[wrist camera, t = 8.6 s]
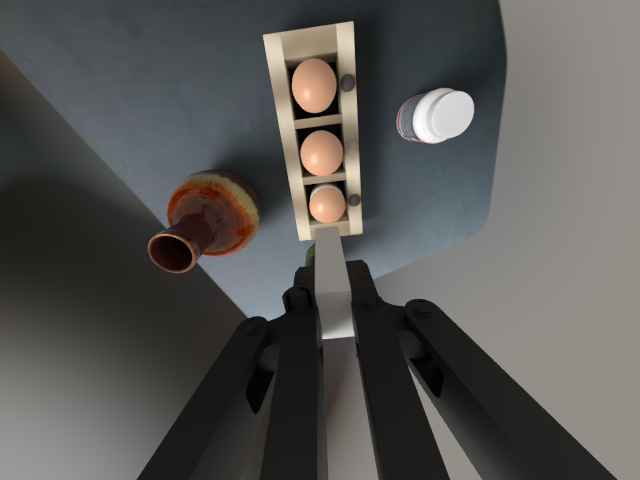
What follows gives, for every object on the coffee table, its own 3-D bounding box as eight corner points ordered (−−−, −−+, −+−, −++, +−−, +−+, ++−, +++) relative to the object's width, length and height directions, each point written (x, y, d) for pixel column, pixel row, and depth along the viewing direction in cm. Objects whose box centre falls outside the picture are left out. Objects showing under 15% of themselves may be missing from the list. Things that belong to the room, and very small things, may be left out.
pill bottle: (397, 145, 31) (425, 151, 23) (393, 101, 29) (422, 91, 21) (437, 134, 31) (479, 137, 23) (436, 90, 28) (483, 75, 20)
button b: (300, 133, 28) (297, 134, 24) (337, 128, 28) (341, 128, 24) (305, 171, 30) (304, 178, 26) (340, 167, 30) (344, 173, 26)
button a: (292, 71, 27) (288, 61, 23) (331, 66, 27) (334, 55, 23) (298, 116, 29) (295, 114, 25) (335, 111, 29) (338, 108, 25)
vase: (281, 200, 34) (258, 250, 21) (240, 249, 38) (196, 319, 24) (217, 147, 31) (136, 163, 17) (178, 206, 35) (85, 258, 21)
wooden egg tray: (270, 47, 26) (262, 34, 23) (348, 35, 26) (353, 20, 22) (301, 229, 36) (299, 241, 33) (357, 223, 36) (362, 234, 32)
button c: (308, 183, 33) (307, 190, 28) (340, 179, 32) (344, 186, 28) (312, 213, 35) (312, 224, 30) (343, 210, 34) (346, 220, 30)
